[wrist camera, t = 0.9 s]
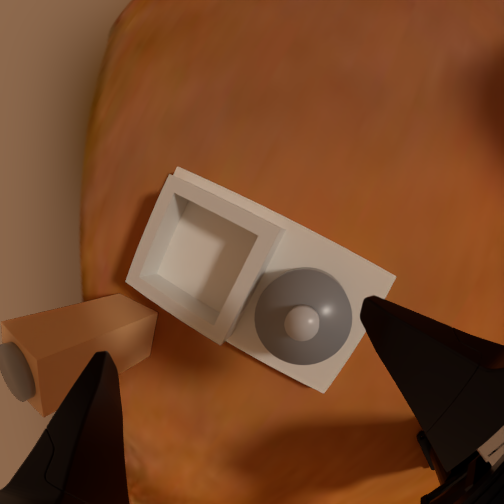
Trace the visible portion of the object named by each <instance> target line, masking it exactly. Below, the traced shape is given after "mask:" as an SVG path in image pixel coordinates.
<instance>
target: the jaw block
mask: <svg viewBox="0 0 504 504" xmlns="http://www.w3.org/2000/svg"><path fill="white" fill-rule="evenodd" d="M157 316H158V312H156V311H154V310H152V309H150V308H148V307H146V306H144V305H142V304H140V303H138V302H136V301H134V300H132V299H130V298H128V297H126V296H124V295H122V294H120V293H119V294H115V295H111V296H107V297H103V298H99V299H95V300H90V301H86V302H82V303H78V304H74V305H70V306H65V307H61V308H57V309H53V310H49V311H44V312H40V313H36V314H31V315H27V316H23V317H19V318H14V319H10V320H6V321H2V322H1V329H2V343H3V344H1V345H0V370H1V373H2V376H3V378H4V380H5V382H6V384H7V386H8V388H9V389H10V391H11V392H12V394H13V395H14V396H15V397H16V398H17V399H18V400H20V401H22V402H24V401H26V400H27V401H28V402H29V403H30V404H31V405H32V406H33V407H34V408H35V409H36V410H37V411H38V412H39V413H40V414H41V415H42V416H43V417H46V416H47V415H49V414H51V413H53V412H55V411H57V409H58V408H59V406H60V404H61V403H62V401H63V400H64V398H65V397H66V395H67V394H68V392H69V391H70V389H71V388H72V386H73V385H74V383H75V382H76V380H77V379H78V377H79V376H80V374H81V373H82V371H83V370H84V368H85V367H86V365H87V364H88V362H89V361H90V360H91V358H92V357H93V355H94V354H95V353H96V352H99V351H108V352H109V354H110V356H111V357H112V359H113V361H114V363H115V365H116V367H117V370H118V375H119V374H121V373H122V372H124V371H126V370H127V369H129V368H131V367H132V366H134V365H135V364H137V363H139V362H140V361H142V360H144V359H145V358H147V357H149V356H150V352H151V347H152V341H153V336H154V331H155V326H156V321H157Z"/></svg>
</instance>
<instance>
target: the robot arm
mask: <svg viewBox="0 0 504 504" xmlns="http://www.w3.org/2000/svg"><path fill="white" fill-rule="evenodd" d="M360 320H361V322H362V324H363V326H364V328H365V330H366V332H367V334H368V336H369V338H370V340H371V342H372V344H373V346H374V348H375V350H376V352H377V354H378V355H379V357H380V359H381V360H382V362H383V363H384V365H385V367H386V368H387V370H388V371H389V373H390V375H391V376H392V378H393V380H394V381H395V383H396V385H397V386H398V388H399V389H400V391H401V393H402V394H403V396H404V398H405V400H406V401H407V403H408V405H409V406H410V408H411V410H412V411H413V413H414V415H415V417H416V418H417V420H418V422H419V424H420V425H421V427H422V429H423V431H421V432H419V433H418V434H417V440H418V442H419V444H420V446H421V448H422V450H423V453H424V455H425V457H426V459H427V461H428V463H429V466H430V468H431V470H435V471H436V474H437V477H438V480H439V482H440V485H441V486H439V487H438V488H436V489H435V490H433V491H432V492H430V493H429V494H426V495H424V496H423V497H421V504H504V345H501V344H497V343H494V342H491V341H488V340H485V339H482V338H479V337H476V336H473V335H470V334H468V333H465V332H463V331H460V330H458V329H455V328H452V327H450V326H448V325H446V324H443V323H441V322H438V321H436V320H434V319H431V318H429V317H426V316H424V315H421V314H419V313H417V312H414V311H412V310H409V309H407V308H404V307H402V306H399V305H397V304H395V303H392V302H390V301H387V300H385V299H382V298H380V297H377V296H375V295H372V296H369V297H366V298H364V300H363V303H362V307H361V311H360ZM423 435H424V436H423ZM421 436H423V437H421ZM0 504H129V497H128V489H127V480H126V470H125V458H124V442H123V415H122V405H121V397H120V388H119V378H118V370H117V367H116V365H115V363H114V361H113V359H112V357H111V356H110V354H109V352H108V351H99V352H96V353H95V354H94V355H93V357H92V358H91V360H90V361H89V362H88V364H87V365H86V367H85V368H84V370H83V371H82V373H81V374H80V376H79V377H78V379H77V380H76V382H75V383H74V385H73V386H72V388H71V389H70V391H69V392H68V394H67V395H66V397H65V398H64V400H63V401H62V403H61V404H60V406H59V408H58V409H57V411H56V412H55V414H54V416H53V417H52V419H51V420H50V422H49V424H48V425H47V429H45V430H44V432H43V433H42V435H41V437H40V438H39V440H38V441H37V443H36V445H35V446H34V448H33V449H32V451H31V452H30V454H29V455H28V457H27V458H26V460H25V461H24V462H23V464H22V465H21V466H20V468H19V469H18V471H17V472H16V473H15V475H14V476H13V478H12V479H11V481H10V482H9V483H8V484H7V485H6V486H5V487H4V488H3V489H1V490H0Z"/></svg>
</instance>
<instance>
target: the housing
mask: <svg viewBox="0 0 504 504" xmlns="http://www.w3.org/2000/svg"><path fill="white" fill-rule="evenodd" d="M395 279H396V276H395V275H393V274H391V273H389V272H388V271H386V270H384V269H382V268H380V267H379V266H377V265H375V264H373V263H371V262H370V261H368V260H366V259H364V258H362V257H361V256H359V255H357V254H355V253H353V252H351V251H349V250H348V249H346V248H344V247H342V246H340V245H338V244H336V243H334V242H333V241H331V240H329V239H327V238H325V237H323V236H321V235H319V234H317V233H315V232H313V231H312V230H310V229H308V228H306V227H304V226H302V225H300V224H298V223H296V222H294V221H292V220H290V219H288V218H286V217H284V216H282V215H280V214H278V213H276V212H274V211H272V210H270V209H268V208H266V207H264V206H262V205H260V204H258V203H256V202H253V201H251V200H249V199H247V198H245V197H243V196H241V195H239V194H237V193H235V192H233V191H230V190H228V189H226V188H224V187H222V186H220V185H218V184H215V183H213V182H211V181H209V180H207V179H204V178H202V177H200V176H198V175H196V174H193V173H191V172H189V171H187V170H184V169H182V168H180V167H178V166H177V168H176V170H175V172H174V174H173V175H170V174H169V176H168V178H167V180H166V182H165V184H164V186H163V189H162V191H161V193H160V195H159V197H158V200H157V202H156V204H155V207H154V209H153V211H152V214H151V216H150V218H149V221H148V223H147V225H146V228H145V230H144V233H143V235H142V238H141V240H140V243H139V245H138V248H137V251H136V253H135V256H134V259H133V261H132V264H131V267H130V270H129V272H128V275H127V278H126V281H125V282H126V283H128V284H129V285H130V286H132V287H133V288H134V289H136V290H137V291H139V292H140V293H141V294H143V295H144V296H146V297H147V298H148V299H150V300H151V301H153V302H154V303H156V304H157V305H158V306H160V307H161V308H163V309H164V310H166V311H167V312H169V313H170V314H172V315H173V316H175V317H176V318H178V319H179V320H181V321H182V322H184V323H185V324H187V325H188V326H190V327H192V328H193V329H195V330H196V331H198V332H199V333H201V334H203V335H204V336H206V337H207V338H209V339H211V340H212V341H214V342H216V343H217V344H219V345H220V346H221V345H222V344H223V343H224V342H225V341H226V342H228V343H230V344H232V345H233V346H235V347H237V348H238V349H240V350H242V351H244V352H245V353H247V354H249V355H251V356H252V357H254V358H256V359H258V360H260V361H261V362H263V363H265V364H267V365H269V366H271V367H272V368H274V369H276V370H278V371H280V372H282V373H284V374H286V375H288V376H289V377H291V378H293V379H295V380H297V381H299V382H301V383H303V384H305V385H307V386H309V387H311V388H313V389H315V390H317V391H320V392H322V393H325V391H326V390H327V389H328V387H329V386H330V385H331V383H332V382H333V380H334V379H335V378H336V376H337V375H338V373H339V372H340V370H341V369H342V367H343V366H344V365H345V363H346V362H347V360H348V359H349V357H350V356H351V354H352V352H353V351H354V349H355V348H356V346H357V345H358V343H359V342H360V340H361V338H362V337H363V335H364V334H365V332H366V330H365V328H364V326H363V324H362V322H361V320H360V311H361V307H362V303H363V300H364V298H366V297H369V296H372V295H375V296H377V297H380V298H382V299H385V297H386V296H387V294H388V292H389V290H390V288H391V286H392V284H393V282H394V280H395Z"/></svg>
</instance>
